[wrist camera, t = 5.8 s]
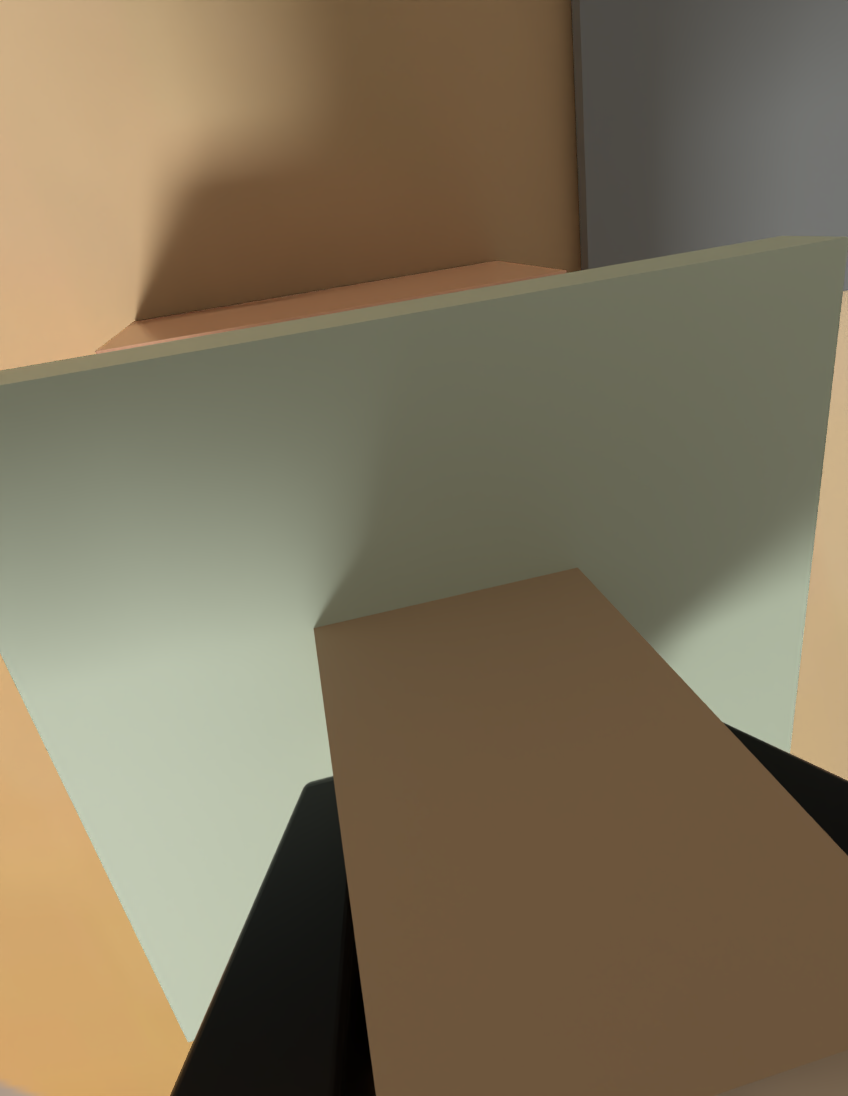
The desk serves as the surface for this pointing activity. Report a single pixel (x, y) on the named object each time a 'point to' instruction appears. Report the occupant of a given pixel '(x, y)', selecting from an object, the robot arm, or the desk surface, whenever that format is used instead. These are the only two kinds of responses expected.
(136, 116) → the desk surface
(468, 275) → the dish
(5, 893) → the desk surface
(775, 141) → the mat
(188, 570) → the lid
